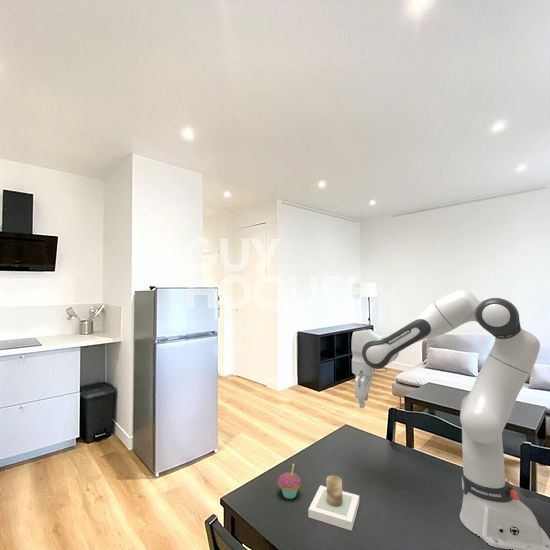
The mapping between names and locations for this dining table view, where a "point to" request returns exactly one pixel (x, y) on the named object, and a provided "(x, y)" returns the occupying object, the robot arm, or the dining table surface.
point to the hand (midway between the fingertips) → (363, 403)
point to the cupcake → (289, 483)
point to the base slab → (334, 509)
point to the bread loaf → (334, 490)
